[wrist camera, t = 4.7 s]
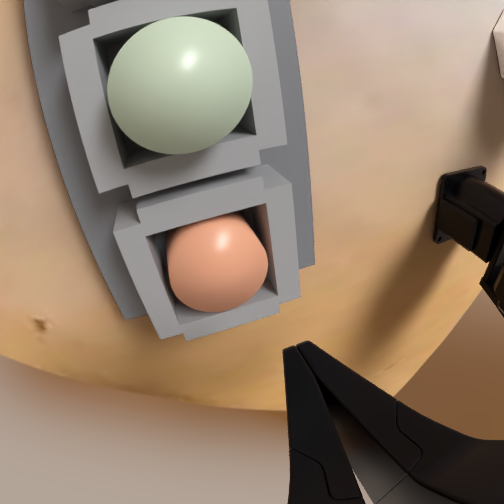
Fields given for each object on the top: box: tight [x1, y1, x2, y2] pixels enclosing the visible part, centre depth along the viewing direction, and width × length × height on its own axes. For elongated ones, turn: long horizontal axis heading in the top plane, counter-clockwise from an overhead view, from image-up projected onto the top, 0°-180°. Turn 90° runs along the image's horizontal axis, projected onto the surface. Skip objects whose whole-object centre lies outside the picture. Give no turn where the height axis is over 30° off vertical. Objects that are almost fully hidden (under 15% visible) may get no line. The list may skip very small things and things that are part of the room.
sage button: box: [107, 17, 253, 154], centre depth 10 cm, size 4×4×3 cm
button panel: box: [23, 0, 315, 341], centre depth 12 cm, size 12×24×5 cm, turn 9°
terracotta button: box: [165, 211, 268, 312], centre depth 15 cm, size 4×4×3 cm
